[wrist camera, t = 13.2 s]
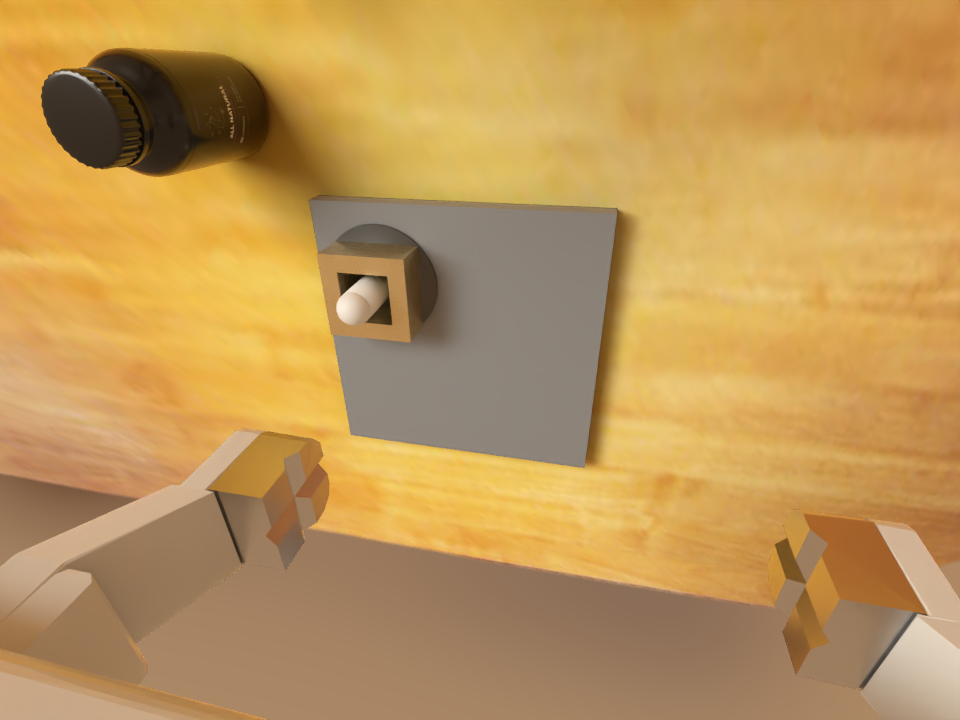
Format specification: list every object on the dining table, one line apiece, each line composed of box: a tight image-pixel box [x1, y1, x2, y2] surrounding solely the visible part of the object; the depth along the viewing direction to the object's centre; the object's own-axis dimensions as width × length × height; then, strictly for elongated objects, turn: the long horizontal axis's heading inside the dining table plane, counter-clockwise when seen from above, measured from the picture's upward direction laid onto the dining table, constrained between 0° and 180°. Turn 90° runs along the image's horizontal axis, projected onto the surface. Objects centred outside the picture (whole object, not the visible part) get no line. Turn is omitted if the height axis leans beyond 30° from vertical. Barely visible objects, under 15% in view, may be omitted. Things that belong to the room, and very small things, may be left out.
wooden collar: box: [317, 241, 423, 343], centre depth 38 cm, size 6×6×3 cm
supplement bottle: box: [41, 48, 268, 177], centre depth 31 cm, size 7×7×12 cm
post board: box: [309, 195, 617, 468], centre depth 38 cm, size 22×22×8 cm
